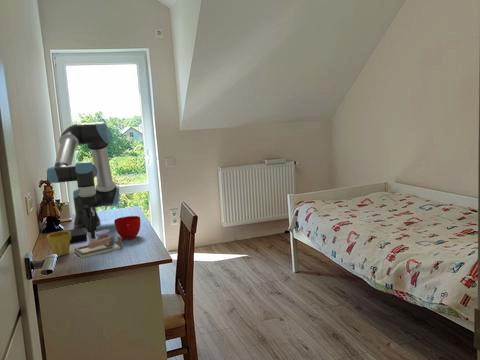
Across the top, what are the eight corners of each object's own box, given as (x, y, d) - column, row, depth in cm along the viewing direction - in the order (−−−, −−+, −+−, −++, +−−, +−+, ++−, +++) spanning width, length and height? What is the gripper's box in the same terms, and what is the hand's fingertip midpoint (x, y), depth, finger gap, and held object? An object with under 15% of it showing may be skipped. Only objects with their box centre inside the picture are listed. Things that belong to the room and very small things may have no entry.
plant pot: (49, 259, 203) (46, 238, 201) (49, 253, 212) (46, 233, 211) (73, 254, 207) (71, 234, 205) (72, 249, 216) (69, 229, 215)
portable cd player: (53, 239, 241) (52, 232, 240) (86, 234, 247) (85, 227, 246) (52, 247, 225) (50, 239, 225) (87, 241, 231) (86, 233, 231)
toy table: (102, 240, 230) (101, 229, 230) (117, 240, 228) (116, 229, 227) (90, 245, 221) (89, 234, 220) (106, 245, 218) (105, 234, 218)
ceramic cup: (116, 244, 219) (114, 224, 217) (116, 236, 235) (114, 218, 234) (143, 240, 222) (141, 221, 221) (141, 233, 238) (139, 214, 237)
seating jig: (74, 251, 211) (72, 240, 211) (113, 243, 222) (112, 232, 221) (81, 257, 201) (80, 245, 200) (122, 248, 211) (121, 236, 211)
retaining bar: (111, 239, 217) (110, 235, 216) (116, 240, 215) (115, 236, 215) (87, 248, 204) (86, 244, 204) (92, 248, 203) (91, 244, 202)
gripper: (75, 195, 207) (81, 243, 211) (83, 198, 197) (89, 249, 200) (91, 192, 212) (96, 240, 215) (100, 195, 201) (105, 245, 205)
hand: (93, 244), depth 208 cm, fingers closed
